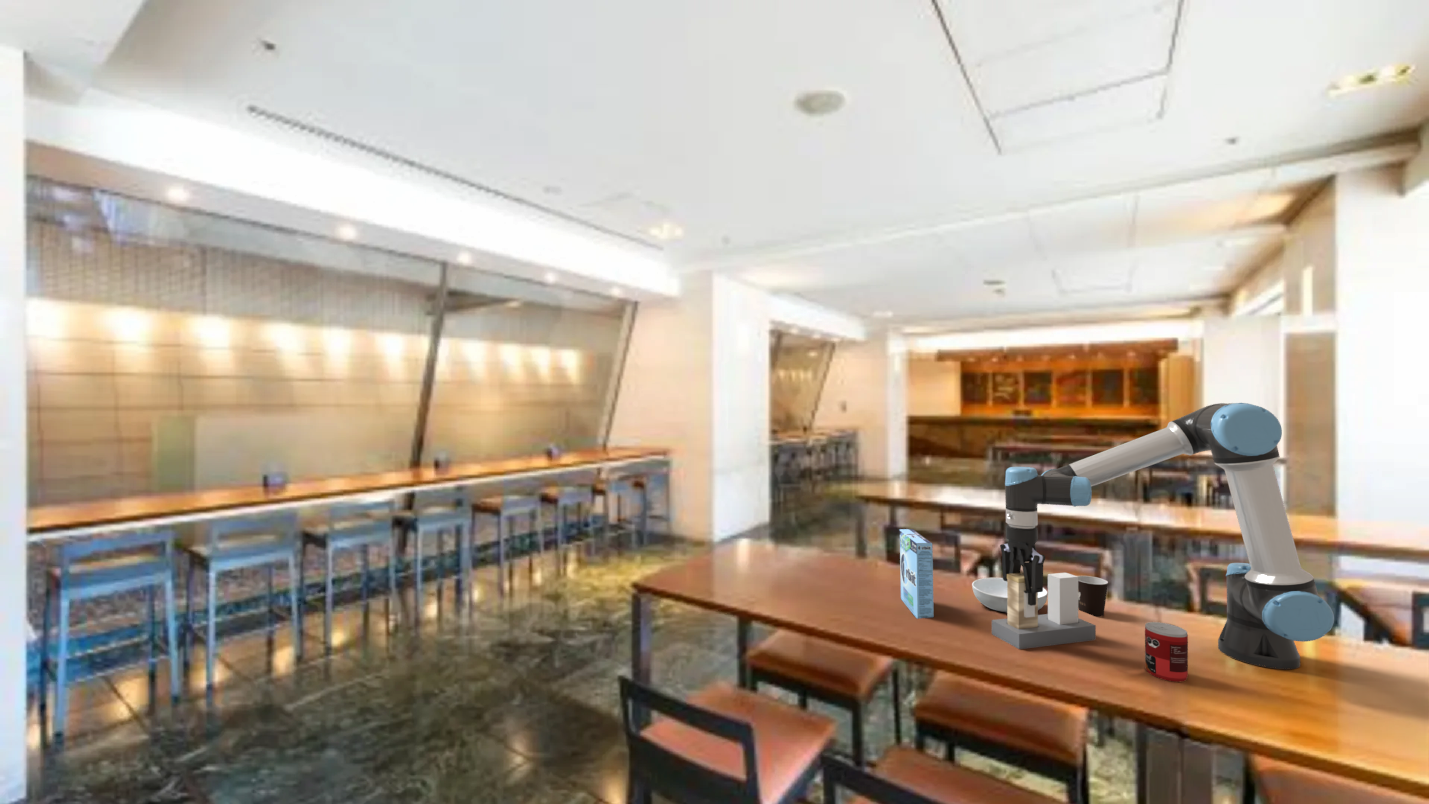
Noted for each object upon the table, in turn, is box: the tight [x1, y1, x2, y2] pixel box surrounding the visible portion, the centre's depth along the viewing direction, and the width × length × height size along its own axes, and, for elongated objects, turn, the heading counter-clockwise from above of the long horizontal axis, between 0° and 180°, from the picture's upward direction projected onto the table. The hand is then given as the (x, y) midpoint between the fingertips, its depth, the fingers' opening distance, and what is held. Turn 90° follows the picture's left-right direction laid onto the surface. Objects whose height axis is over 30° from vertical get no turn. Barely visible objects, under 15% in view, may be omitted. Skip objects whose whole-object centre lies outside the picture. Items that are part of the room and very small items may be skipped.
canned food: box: [1144, 621, 1189, 683], centre depth 137 cm, size 8×8×11 cm
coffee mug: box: [1076, 575, 1109, 618], centre depth 179 cm, size 12×9×10 cm
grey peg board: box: [991, 613, 1097, 650], centre depth 156 cm, size 10×24×5 cm, turn 104°
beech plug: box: [1006, 572, 1039, 629], centre depth 155 cm, size 4×6×16 cm
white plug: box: [1047, 572, 1079, 625], centre depth 158 cm, size 4×6×16 cm, turn 104°
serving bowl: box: [971, 577, 1048, 614], centre depth 181 cm, size 21×21×7 cm
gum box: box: [899, 528, 935, 620], centre depth 181 cm, size 20×5×23 cm, turn 177°
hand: (1022, 613), depth 155 cm, fingers closed on beech plug, 4 cm apart
